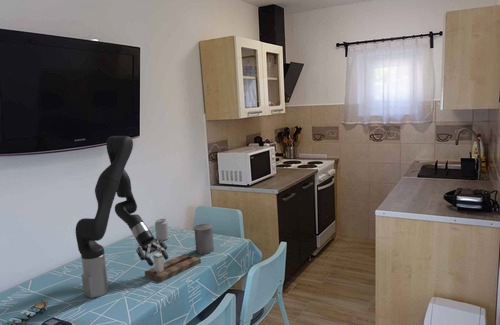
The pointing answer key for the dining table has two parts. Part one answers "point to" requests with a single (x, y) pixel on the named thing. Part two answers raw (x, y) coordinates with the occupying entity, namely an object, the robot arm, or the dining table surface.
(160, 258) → the fader tab
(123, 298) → the dining table surface
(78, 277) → the dining table surface
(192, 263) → the fader console
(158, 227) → the can
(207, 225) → the pillar candle
